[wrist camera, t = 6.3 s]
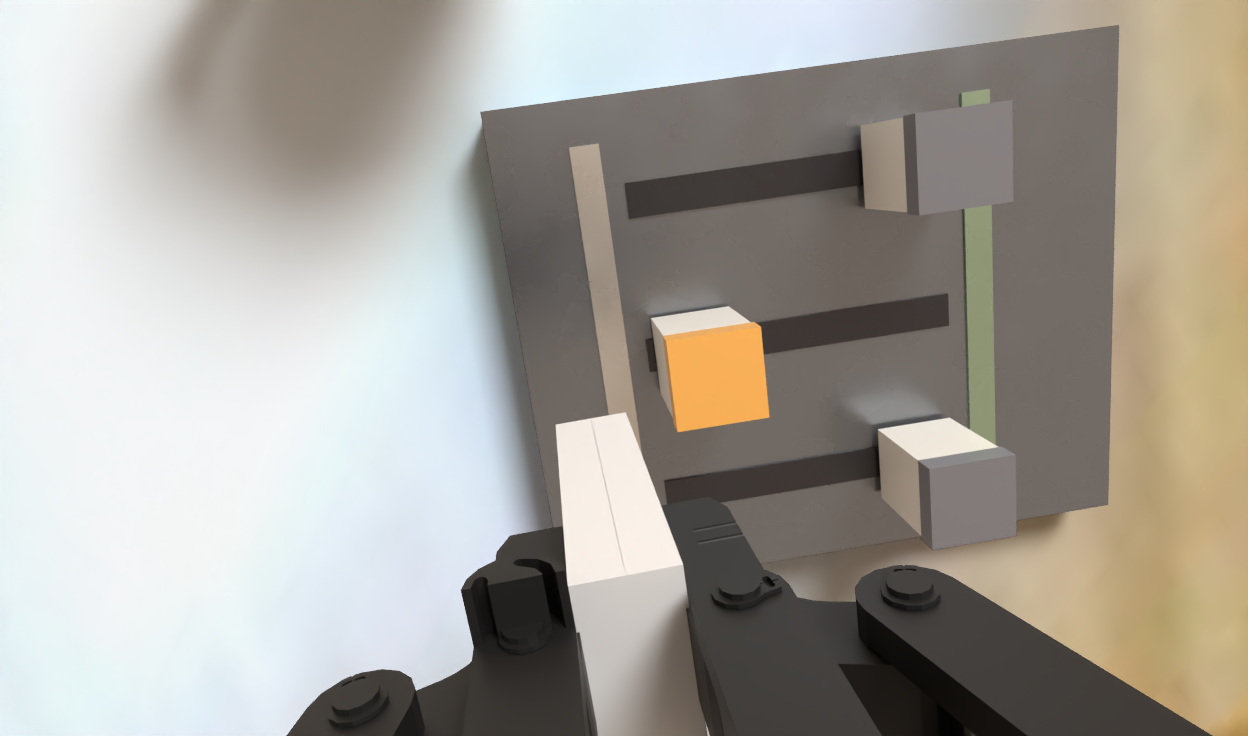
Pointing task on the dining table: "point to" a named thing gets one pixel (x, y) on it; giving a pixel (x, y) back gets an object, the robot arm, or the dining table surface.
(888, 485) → the block
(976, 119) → the block
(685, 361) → the tripped breaker
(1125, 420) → the dining table surface
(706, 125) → the panel
